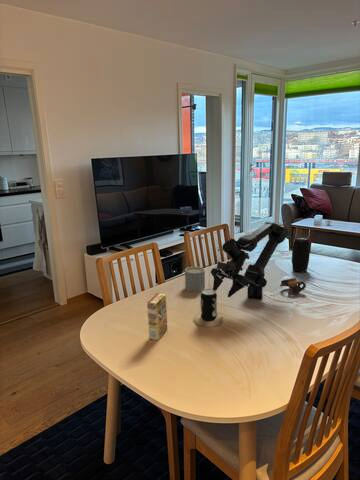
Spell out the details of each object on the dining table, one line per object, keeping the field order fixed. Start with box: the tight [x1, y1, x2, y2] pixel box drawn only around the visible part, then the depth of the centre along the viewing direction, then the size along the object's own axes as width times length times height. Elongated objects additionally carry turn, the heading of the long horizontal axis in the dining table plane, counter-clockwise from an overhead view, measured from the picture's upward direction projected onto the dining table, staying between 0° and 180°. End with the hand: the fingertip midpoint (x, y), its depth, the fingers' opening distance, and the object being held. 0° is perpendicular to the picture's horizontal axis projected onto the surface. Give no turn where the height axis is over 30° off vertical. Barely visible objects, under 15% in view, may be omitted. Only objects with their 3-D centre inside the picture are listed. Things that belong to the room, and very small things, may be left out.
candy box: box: [146, 293, 168, 341], centre depth 138 cm, size 9×4×15 cm, turn 158°
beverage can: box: [200, 288, 218, 321], centre depth 148 cm, size 7×7×12 cm
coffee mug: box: [184, 266, 206, 293], centre depth 184 cm, size 13×10×10 cm
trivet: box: [193, 312, 224, 328], centre depth 150 cm, size 12×12×1 cm
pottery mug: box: [280, 278, 307, 297], centre depth 176 cm, size 12×10×8 cm
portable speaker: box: [291, 235, 311, 274], centre depth 203 cm, size 9×9×20 cm
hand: (220, 294), depth 154 cm, fingers open, 9 cm apart
